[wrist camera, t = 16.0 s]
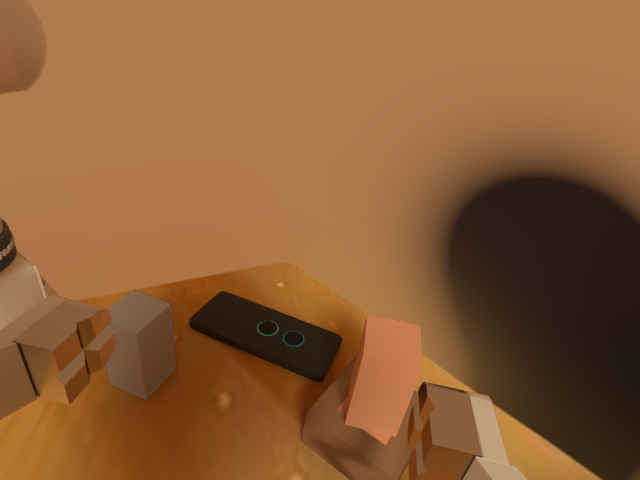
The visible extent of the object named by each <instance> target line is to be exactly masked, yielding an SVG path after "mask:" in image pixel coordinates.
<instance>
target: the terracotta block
mask: <svg viewBox="0 0 640 480" xmlns="http://www.w3.org/2000/svg"><path fill="white" fill-rule="evenodd" d="M422 370H423V356H422V344H421V331H420V325H414V324H410V323H405V322H401V321H396V320H392V319H387V318H382V317H378V316H373V315H368V314H367V318H366V322H365V326H364V330H363V333H362V337H361V341H360V345H359V349H358V353H357V357H356V361H355V365H354V369H353V373H352V377H351V381H350V387H349V395H348V403H347V411H346V418H345V425H348V426H352V427H356V428H360V429H365V430H369V431H373V432H377V433H381V434H385V435H389V436H393V437H396V435H397V433H398V430H399V428H400V425H401V423H402V420H403V418H404V415H405V413H406V410H407V408H408V405H409V403H410V400H411V397H412V395H413V392H414V390H415V387H416V385H417V382H418V380H419V377H420V375H421V372H422Z"/></svg>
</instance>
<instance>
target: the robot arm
mask: <svg viewBox="0 0 640 480" xmlns="http://www.w3.org/2000/svg"><path fill="white" fill-rule="evenodd" d="M46 50H47V49H46V39H45V34H44V31H43V28H42V25H41V22H40V20H39V18H38V16H37V14H36V12H35V11H34V9H33V7H32V6H31V4H30V3H29V1H28V0H0V94H6V93H13V92H20V91H26V90H29V89H30V88H31V87H32V86H33V85H34V84H35V82H36V81H37V80H38V79H39V77H40V75H41V73H42V71H43V69H44V65H45V61H46V54H47V51H46ZM14 243H15V241H14V237H13V235H12V232H11V231H10V229H9V227H8V225H7V224H6V222H5V221H3V220H2V219H1V218H0V420H1V419H3V418H4V417H6V416H8V415H10V414H11V413H13V412H15V411H17V410H19V409H20V408H22V407H24V406H26V405H28V404H29V403H31V402H33V401H35V400H36V399H37V397H38V398H43V399H47V400H52V401H56V402H61V403H65V404H69V405H70V404H71V403H72V401H73V400H74V399H75V398H76V397H77V396H78V395H79V394H80V393H81V392H82V390H83V389H84V388H85V387H86V386H87V385H88V384H89V383H90V374H92V373H94V372H96V371H98V370H100V369H102V368H103V367H104V366H105V365H106V363H107V362H108V361H109V360H110V358H111V356H112V354H113V352H114V350H115V345H116V337H115V333H114V332H113V331H112V329H111V328H110V327H109V326H108V325H109V324H110V323H111V322H112V317H111V313H110V310H107V309H105V308H101V307H97V306H94V305H90V304H86V303H82V302H78V301H74V300H69V299H65V298H61V297H60V296H59V295H58V294H57V293H56V292H55V290H53V288H52V287H51V286H50V285H49V284H48V283H47V282H46V280H44V278H43V277H42V276H41V275H40V274H39V271H38V269H37V267H36V266H33V265H31V263H30V262H29V261H28V260H27V259H26V258H25V257H23V256H22V255H21V254H20V253H19V252H18V251H17V250H16V247H15V244H14ZM418 397H419V401H418V402H417V403H415V404H413V407H412V410H411V413H410V417H409V423H408V445H409V447H410V448H411V450H412V451H413V454H412V456H411V458H410V461H409V480H527V478H526V477H525V476H524V475H523V474H522V472H521V471H520V470H519V469H518V468H517V466H513V465H510V464H509V461H508V458H507V454H506V451H505V447H504V444H503V440H502V437H501V433H500V430H499V426H498V423H497V419H496V416H495V412H494V408H493V405H492V401H491V399H490V398H489V397H488V396H485V395H481V394H477V393H472V392H468V391H464V390H459V389H455V388H450V387H446V386H441V385H436V384H432V383H427V382H423V383H422V384H421V386H420V389H419V391H418Z"/></svg>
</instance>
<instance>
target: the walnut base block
mask: <svg viewBox="0 0 640 480" xmlns="http://www.w3.org/2000/svg"><path fill="white" fill-rule="evenodd" d="M356 357H357V356H356ZM356 357H355V358H354V359H353V360H352V361H351V362H350V364H349V365H348V366H347V367H346V368H345V369H344V370H343V372H342V373H341V374H340V375H339V376H338V377H337V378H336V380H335V381H334V382H333V383H332V384H331V385H330V386H329V387H328V389H327V390H326V391H325V392H324V393H323V394H322V395H321V397H320V398H319V399H318V400H317V401H316V402H315V403H314V404H313V406H312V407H311V408H310V409H309V410H308V411H307V412H306V417H305V422H304V428H303V433H302V439H301V441H302V442H303V443H304V444H306V445H307V446H308V447H310V448H311V449H312V450H313V451H315V452H316V453H317V454H318V455H320V456H321V457H322V458H323V459H325V460H326V461H327V462H328V463H330V464H331V465H332V466H333V467H335V468H336V469H337V470H338V471H340V472H341V473H342V474H344V475H345V476H346V477H347V478H349V479H350V480H400V478H401V476H402V474H403V472H404V470H405V468H406V466H407V464H408V462H409V460H410V458H411V456H412V454H413V451H412V450H411V448H410V447H409V445H408V423H409V417H410V413H411V410H412V407H413V404H415V403H417V402H418V401H419V397H418V393H417V392H416V391H414V392H413V395H412V397H411V400H410V403H409V405H408V408H407V410H406V413H405V415H404V418H403V420H402V423H401V425H400V428H399V430H398V433H397V435H396V437H393V436H389V435H385V434H381V433H377V432H373V431H369V430H365V429H360V428H356V427H352V426H348V425H345V418H346V411H347V403H348V395H349V387H350V381H351V377H352V373H353V369H354V365H355V361H356Z"/></svg>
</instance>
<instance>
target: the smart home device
mask: <svg viewBox="0 0 640 480" xmlns="http://www.w3.org/2000/svg"><path fill="white" fill-rule="evenodd" d="M190 327H191V328H192V329H194V330H196V331H198V332H201V333H203V334H205V335H208V336H210V337H212V338H215V339H217V340H219V341H222V342H224V343H226V344H229V345H231V346H233V347H236V348H238V349H241V350H243V351H245V352H248V353H250V354H252V355H255V356H257V357H259V358H262V359H264V360H267V361H269V362H271V363H274V364H276V365H278V366H281V367H283V368H285V369H288V370H290V371H292V372H295V373H297V374H299V375H302V376H304V377H307V378H309V379H311V380H314V381H318V382H322V381H323V379H324V377H325V375H326V373H327V371H328V369H329V367H330V365H331V363H332V362H333V359H334V357H335V355H336V353H337V351H338V349H339V347H340V345H341V341H342V337H341V336H339V335H338V334H336V333H333V332H330V331H328V330H325V329H323V328H320V327H317V326H315V325H312V324H309V323H307V322H304V321H302V320H299V319H296V318H294V317H291V316H288V315H286V314H283V313H281V312H278V311H275V310H273V309H270V308H267V307H265V306H262V305H260V304H257V303H254V302H252V301H249V300H247V299H244V298H241V297H239V296H236V295H233V294H231V293H228V292H224V291H221V292H219V293H218V294H217V295H216V296H215V297H214V298H213V299H211V300H210V301H209V302H208V303H207V304H206V305H205V306H204V307H202V308H201V309H200V310H199V311H198V312H197V313H196V314H195V315H193V316H192V317H191V318H190Z"/></svg>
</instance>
